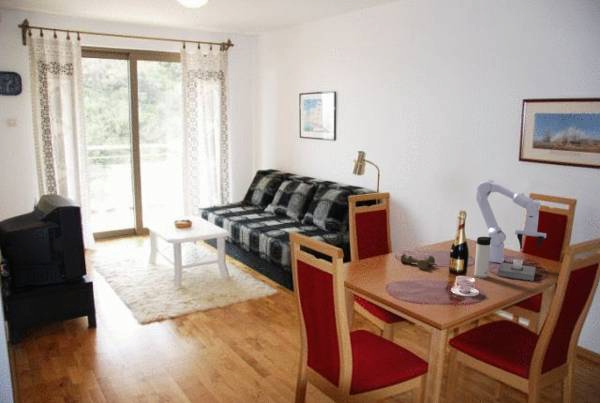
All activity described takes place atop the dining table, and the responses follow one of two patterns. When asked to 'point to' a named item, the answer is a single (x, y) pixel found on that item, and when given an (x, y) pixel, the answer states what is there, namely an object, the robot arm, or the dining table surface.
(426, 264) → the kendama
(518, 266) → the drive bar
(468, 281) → the teacup
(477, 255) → the travel mug
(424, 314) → the dining table surface
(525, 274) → the socket plate
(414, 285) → the dining table surface
